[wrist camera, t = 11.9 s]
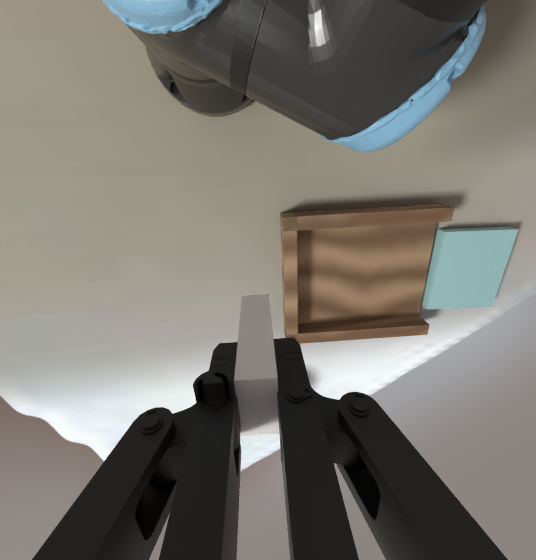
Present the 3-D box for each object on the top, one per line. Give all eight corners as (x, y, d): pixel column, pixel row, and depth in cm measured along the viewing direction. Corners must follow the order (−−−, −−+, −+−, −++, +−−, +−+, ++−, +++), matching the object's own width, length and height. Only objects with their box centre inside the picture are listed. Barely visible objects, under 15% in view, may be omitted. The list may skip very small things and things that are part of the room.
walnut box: (280, 213, 42) (283, 217, 39) (437, 203, 43) (454, 207, 39) (284, 331, 51) (286, 344, 47) (414, 322, 52) (427, 334, 48)
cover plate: (435, 228, 45) (445, 231, 43) (505, 226, 45) (518, 229, 43) (419, 302, 51) (426, 309, 48) (481, 300, 51) (492, 306, 49)
